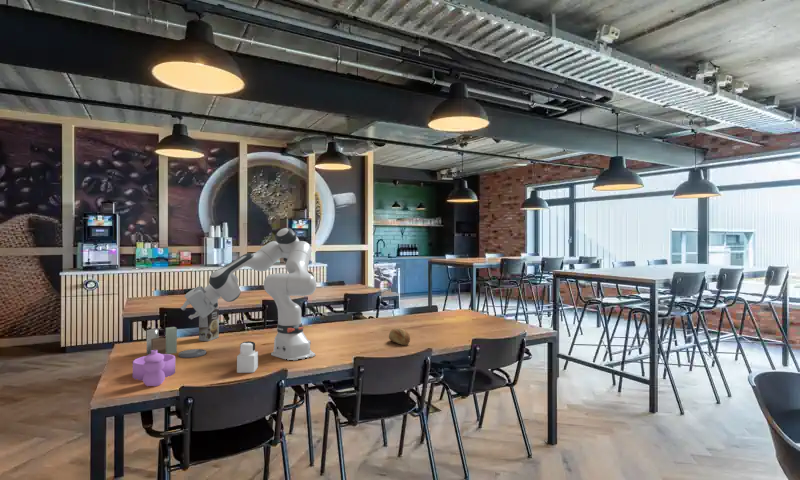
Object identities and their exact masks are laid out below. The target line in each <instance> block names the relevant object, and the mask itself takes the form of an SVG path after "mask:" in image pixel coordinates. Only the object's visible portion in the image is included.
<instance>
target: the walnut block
mask: <svg viewBox="0 0 800 480" xmlns="http://www.w3.org/2000/svg"><path fill="white" fill-rule="evenodd" d="M152 350H158V351H157V353H160V354H167V353H166V337H159V338H153V339H151V351H152Z"/></svg>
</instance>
